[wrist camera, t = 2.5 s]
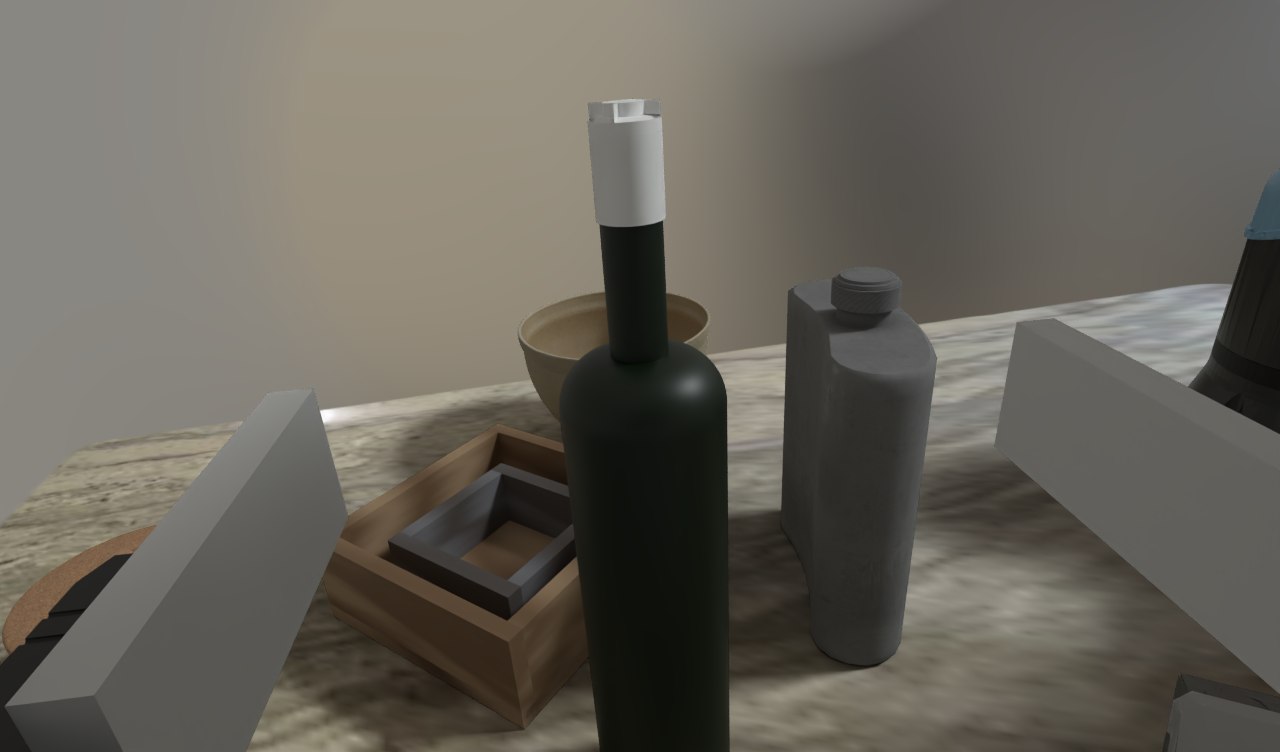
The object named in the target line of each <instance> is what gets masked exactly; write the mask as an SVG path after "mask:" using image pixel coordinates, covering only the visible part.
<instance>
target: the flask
mask: <svg viewBox="0 0 1280 752" xmlns="http://www.w3.org/2000/svg"><path fill="white" fill-rule="evenodd" d="M901 293H902V281H901V279H899V278H898V277H897V276H896V275H895V274H894V273H892V272H891V271H889V270H885V269H881V268H874V267H856V268H850V269H846V270H843V271H842V272H840V273H839V274H838V275H836V276H835V277H834V278H833V279H832V280H816V281H809V282H806V283H803V284H799V285H797V286H795V287H794V288H792V289H791V290H789V291H788V314H787V345H786V377H785V409H784V441H783V473H782V505H781V527H782V529H783V530H784V532H785V533H786V535H787V537H788V538H789V540H790V541H791V543H792V545H793V546H794V548H795V550H796V552H797V554H798V556H799V558H800V560H801V563H802V566H803V569H804V571H805V575H806V579H807V583H808V587H809V594H810V601H811V606H810V633H811V635H812V637H813V639H814V641H815V643H816V645H817V646H818V647H819V648H820V649H821V650H823V651H824V652H825V653H826V654H828V655H829V656H830V657H832V658H835V659H837V660H840V661H842V662H845V663H847V664H856V665H866V666H867V665H872V664H877V663H882V662H884V661H885V660H887V659H888V658H890V657H891V656H893V655H894V654H895V652H896V650H897V648H898V646H899V644H900V640H901V633H902V625H903V617H904V610H905V602H906V594H907V586H908V579H909V571H910V563H911V556H912V548H913V540H914V532H915V525H916V517H917V509H918V501H919V494H920V486H921V478H922V471H923V463H924V455H925V447H926V440H927V432H928V424H929V417H930V409H931V401H932V393H933V386H934V378H935V370H936V362H937V357H936V354H935V352H934V349H933V347H932V345H931V343H930V341H929V339H928V338H927V336H926V335H925V333H924V332H923V331H922V329H921V328H920V327H919V326H918V325H917V323H916V322H915V321H914V320H913V319H912V318H911V317H910V316H909V315H907V314H906V313H905V312H904V311H903V310H902V309H901V308H899V306H900V303H901Z"/></svg>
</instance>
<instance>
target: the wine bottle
mask: <svg viewBox="0 0 1280 752" xmlns="http://www.w3.org/2000/svg"><path fill="white" fill-rule="evenodd" d="M588 110H589V121H588V132H589V143H590V155H591V167H592V179H593V191H594V202H595V214H596V222H597V223H598V224H599V225H600V236H601V249H602V261H603V273H604V284H605V297H606V309H607V321H608V333H609V343H606V344H603V345H601V346H599V347H597V348H595V349H593V350H591V351H590V352H588V353H587V354H585V355H584V356H583V357H582V358H580V359H579V360H578V361H577V362H576V363H575V365H574V366H573V367H572V368H571V370H570V371H569V373H568V374H567V376H566V378H565V380H564V382H563V385H562V388H561V392H560V397H559V414H560V422H561V430H562V439H563V447H564V455H565V464H566V472H567V480H568V488H569V497H570V505H571V513H572V522H573V530H574V538H575V546H576V555H577V563H578V571H579V579H580V588H581V596H582V604H583V613H584V621H585V629H586V637H587V646H588V654H589V662H590V671H591V679H592V687H593V695H594V704H595V712H596V720H597V729H598V737H599V745H600V752H730V738H729V602H728V466H727V394H726V389H725V385H724V382H723V379H722V377H721V375H720V373H719V371H718V370H717V368H716V367H715V365H714V364H713V363H712V362H711V360H710V359H709V358H708V357H706V356H705V355H704V354H703V353H702V352H700V351H699V350H697V349H696V348H694V347H692V346H690V345H688V344H686V343H683V342H680V341H677V340H673V339H668V323H667V301H666V279H665V257H664V235H663V220H664V219H665V218H666V209H665V187H664V164H663V139H662V117H661V113H660V100H644V99H633V98H632V99H629V100H615V101H606V102H596V103H588Z"/></svg>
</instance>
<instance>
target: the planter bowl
mask: <svg viewBox="0 0 1280 752" xmlns="http://www.w3.org/2000/svg"><path fill="white" fill-rule="evenodd" d="M666 301H667V323H668V339H673V340H677V341H680V342H683V343H686V344H688V345H690V346H692V347H694V348H696V349H697V350H699V351H700V352H702V353H703V354H704V355H705V356H706V352H707V336H708V333H709V328H710V315H709V312H708V311H707V309H706V308H705V307H704V306H703V305H702V304H701V303H699V302H698V301H696V300H693V299H691V298H689V297H686V296H682V295H679V294H675V293H670V292H666ZM518 337H519V342H520V345H521V347H522V349H523V351H524V355H525V359H526V364H527V368H528V371H529V375H530V377H531V380H532V382H533V385H534V387H535V389H536V391H537V393H538V394H539V396H540V398H541V399H542V401H543V402H544V404H545V405H546V407H547V408H548V409H549V410H550V412H551V413H552V414H553V415H554V416H555V417H556V418H557V419H558V420H559V421H560V414H559V397H560V392H561V388H562V385H563V382H564V380H565V378H566V376H567V374H568V373H569V371H570V370H571V368H572V367H573V366H574V365H575V363H576V362H577V361H578V360H579V359H580V358H582V357H583V356H584V355H585V354H587V353H588V352H590V351H591V350H593V349H595V348H597V347H599V346H601V345H603V344H606V343H609V333H608V321H607V309H606V297H605V291H597V292H591V293H585V294H580V295H575V296H572V297H567V298H564V299H561V300H558V301H555V302H553V303H550V304H547V305H545V306H543V307H540V308H538V309H536V310H535V311H533V312H532V313H530V314H529V315H528V316H526V317H525V318H524V319H523V320H522V322H521V323H520V325H519V328H518Z"/></svg>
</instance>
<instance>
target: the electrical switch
mask: <svg viewBox="0 0 1280 752" xmlns="http://www.w3.org/2000/svg"><path fill="white" fill-rule="evenodd" d="M1181 678H1182V680H1183V682H1184V683H1183V682H1182V680H1181V679H1180V677H1179V676H1178V680H1177V685H1176V690H1175V694H1174V699H1173V704H1172V709H1171V713H1170V718H1169V723H1168V727H1167V732H1166V737H1165V741H1164V746H1163V751H1162V752H1280V698H1279V697H1275V696H1271V695H1267V694H1263V693H1259V692H1255V691H1251V690H1247V689H1243V688H1238V687H1234V686H1230V685H1226V684H1222V683H1218V682H1214V681H1210V680H1206V679H1202V678H1198V677H1194V676H1190V675H1186V674H1182V673H1181ZM1184 684H1185V685H1184ZM1185 686H1186V687H1187V688H1186V687H1185ZM1217 688H1218V689H1221V690H1218V689H1217ZM1187 689H1188V690H1187Z"/></svg>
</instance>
